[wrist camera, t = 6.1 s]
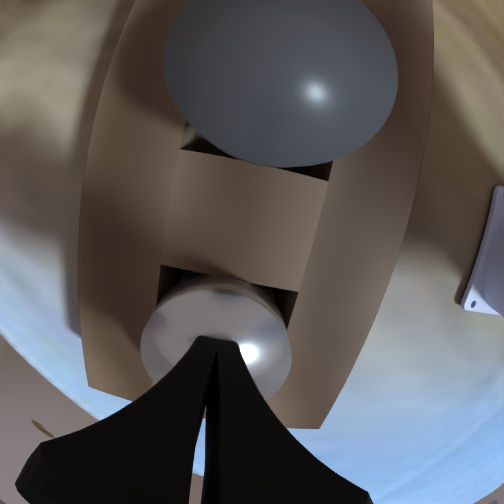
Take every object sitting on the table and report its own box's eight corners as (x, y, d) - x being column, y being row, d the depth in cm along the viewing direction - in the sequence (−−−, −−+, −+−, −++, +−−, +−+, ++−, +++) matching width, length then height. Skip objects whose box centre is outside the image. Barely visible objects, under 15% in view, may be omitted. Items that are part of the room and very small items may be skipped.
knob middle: (352, 56, 8) (403, 9, 4) (326, 184, 10) (377, 194, 6) (214, 24, 8) (200, -42, 4) (179, 152, 9) (136, 142, 5)
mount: (403, -37, 8) (423, -58, 5) (309, 392, 15) (319, 428, 12) (214, -83, 7) (210, -111, 4) (108, 354, 14) (88, 386, 11)
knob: (291, 267, 13) (311, 310, 9) (263, 360, 14) (269, 419, 10) (174, 243, 12) (143, 277, 8) (163, 341, 13) (140, 395, 10)
